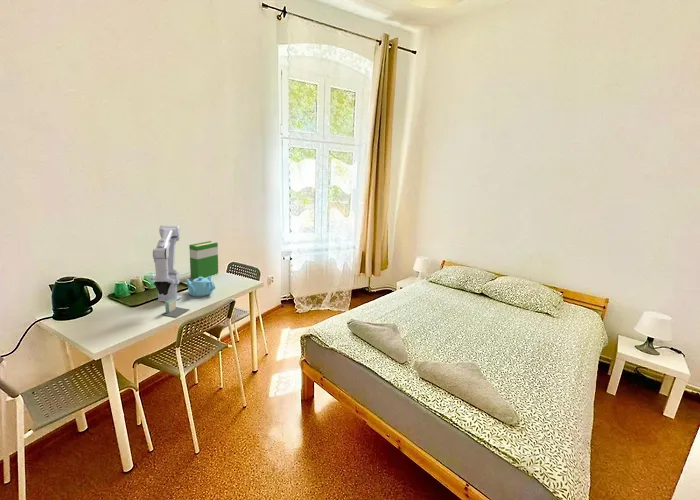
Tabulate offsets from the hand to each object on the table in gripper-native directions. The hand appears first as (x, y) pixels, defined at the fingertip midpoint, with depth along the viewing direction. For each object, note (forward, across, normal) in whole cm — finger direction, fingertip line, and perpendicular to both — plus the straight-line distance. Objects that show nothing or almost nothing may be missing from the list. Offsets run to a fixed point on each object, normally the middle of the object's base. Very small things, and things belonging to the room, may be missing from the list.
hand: (163, 294), depth 168 cm
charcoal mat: (+9, +7, 0) cm, 12 cm away
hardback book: (+10, -16, +57) cm, 60 cm away
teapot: (+10, +2, +28) cm, 30 cm away
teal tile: (+9, +4, 0) cm, 10 cm away
